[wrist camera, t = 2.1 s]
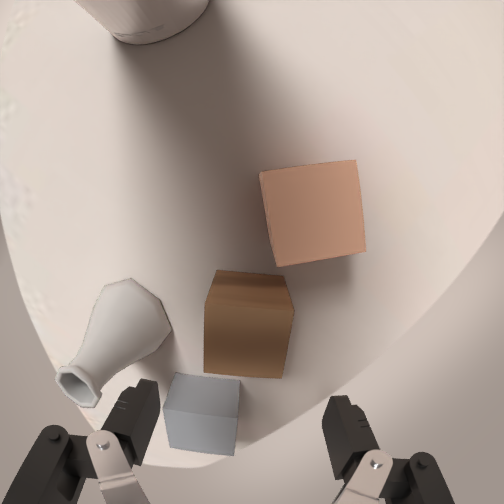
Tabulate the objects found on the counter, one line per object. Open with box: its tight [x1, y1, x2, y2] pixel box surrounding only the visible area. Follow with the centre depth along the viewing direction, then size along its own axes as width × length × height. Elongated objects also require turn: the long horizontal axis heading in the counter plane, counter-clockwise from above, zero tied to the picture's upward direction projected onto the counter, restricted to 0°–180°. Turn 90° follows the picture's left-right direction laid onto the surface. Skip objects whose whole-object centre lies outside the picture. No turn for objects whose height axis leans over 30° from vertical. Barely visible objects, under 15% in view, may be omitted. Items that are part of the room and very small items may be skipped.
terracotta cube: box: [259, 160, 366, 267], centre depth 17 cm, size 5×5×6 cm
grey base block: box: [163, 373, 240, 456], centre depth 22 cm, size 6×6×5 cm
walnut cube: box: [204, 270, 294, 378], centre depth 19 cm, size 5×5×6 cm
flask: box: [55, 278, 172, 408], centre depth 17 cm, size 7×7×10 cm
